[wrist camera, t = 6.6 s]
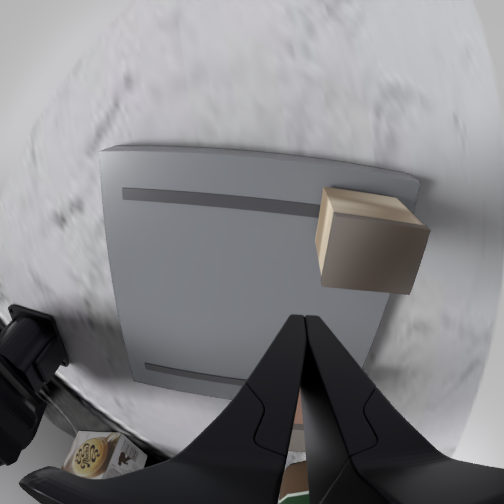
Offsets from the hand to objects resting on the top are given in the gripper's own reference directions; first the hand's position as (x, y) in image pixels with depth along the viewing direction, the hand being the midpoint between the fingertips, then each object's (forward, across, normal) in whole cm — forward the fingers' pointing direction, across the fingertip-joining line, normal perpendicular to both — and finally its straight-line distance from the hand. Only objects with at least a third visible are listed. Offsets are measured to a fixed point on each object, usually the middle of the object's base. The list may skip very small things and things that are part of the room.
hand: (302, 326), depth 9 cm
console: (+11, +3, +6) cm, 13 cm away
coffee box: (+11, +21, +34) cm, 42 cm away
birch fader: (+8, -3, 0) cm, 9 cm away
